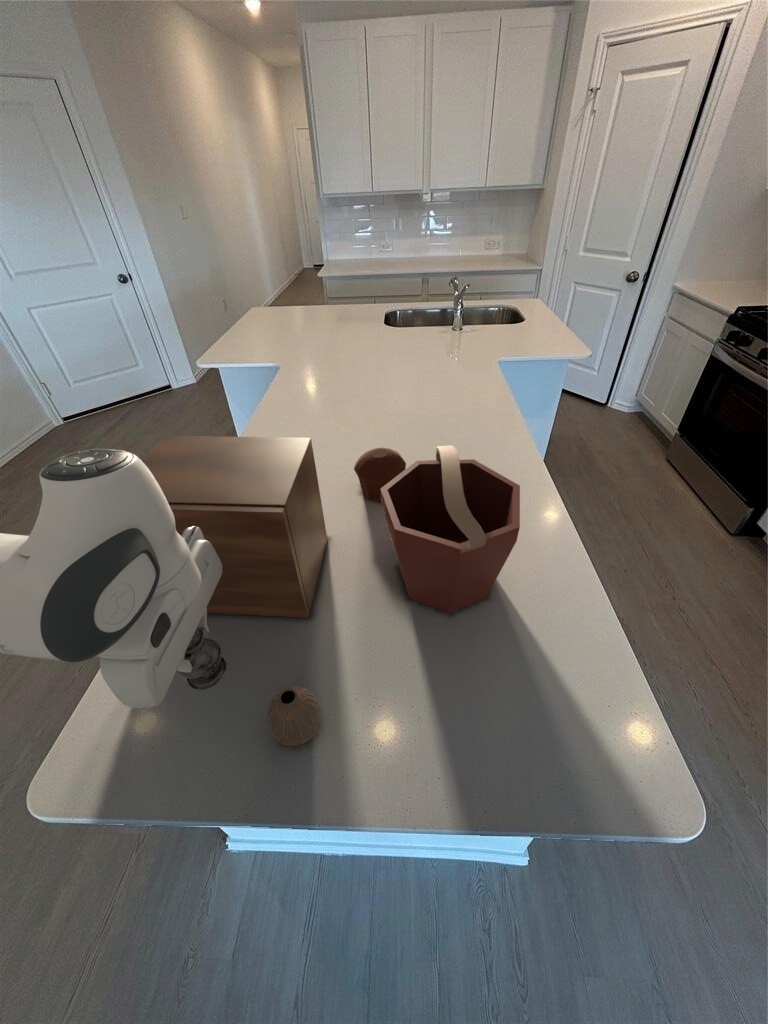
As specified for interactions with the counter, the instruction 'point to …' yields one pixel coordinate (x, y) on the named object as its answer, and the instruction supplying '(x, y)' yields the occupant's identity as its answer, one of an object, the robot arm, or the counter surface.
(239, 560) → the cupboard door
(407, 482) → the bucket
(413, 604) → the counter surface
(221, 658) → the grey stone turned figure
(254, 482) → the cupboard
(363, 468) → the muffin
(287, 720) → the vase
